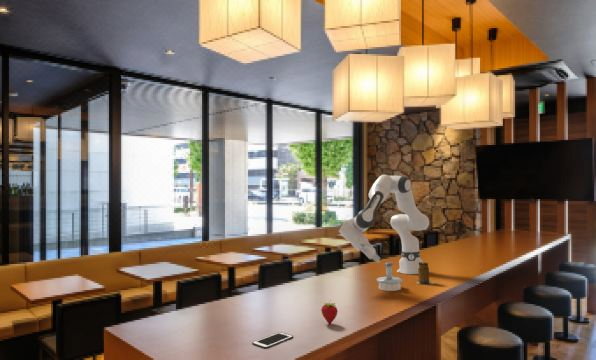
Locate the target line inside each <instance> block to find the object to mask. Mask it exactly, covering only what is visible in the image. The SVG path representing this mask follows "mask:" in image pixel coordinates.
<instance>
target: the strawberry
mask: <svg viewBox="0 0 596 360" xmlns="http://www.w3.org/2000/svg"><path fill="white" fill-rule="evenodd" d="M331 301H332V299H330V300H329V302H326V303H325V302H324V304H323V306H321V309H320V311H321V315H322V316H323V318H324V319H325V321H326V322H327V324H329V325H331V324H333V322H334V321H335V319H336V317H337V315H338V308H337V307H336V303H335V302H334V303H333V302H332V303H331Z"/></svg>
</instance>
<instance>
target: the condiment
mask: <svg viewBox="0 0 596 360" xmlns="http://www.w3.org/2000/svg"><path fill="white" fill-rule="evenodd" d="M417 275H418V282H417V281H416V284H420V285H426V286H427V285H429V286H430V285H434V284H435V282H432V281H430V268H429V263H428V262H426V261H423V262H419V267H418V274H417Z"/></svg>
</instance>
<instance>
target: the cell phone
mask: <svg viewBox="0 0 596 360" xmlns="http://www.w3.org/2000/svg"><path fill="white" fill-rule="evenodd" d="M292 339H294V335H292V334H289V333H285V332H283V331H278V332H275V333H273V334H271V335H267V336H265V337H261V338H259V339H257V340H254V341H252V342H251V345H253V346H255V347H259V348H262V349H264V350H266V349H270V348H272V347H275V346H277V345H279V344H282V343H284V342H286V341H289V340H292Z"/></svg>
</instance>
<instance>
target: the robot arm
mask: <svg viewBox="0 0 596 360" xmlns="http://www.w3.org/2000/svg"><path fill="white" fill-rule="evenodd" d="M390 193H391V194H394V195H395V199H396V200H395V201H396V205H397V208H398V210H399V211H401V212H402V213H399V214H394V215H393V216H392V217H391V218H390V226H391V228H392V229H393V230H395V231H396V232H397V234H398V236H399V238H400V242H401V253H400V254H401V258H400V259H399V261H398V265H399V268H398V269H397V270H396V273H400V274H406V275H418V267H419V262H424V261H423V259H422V258H421V251H420V241H419V238H418V237H417V236H415V235H413V234H412V233H411V231H417V232H421V231H424V230H425V231H426V230H427V229H428V228H429V227H430V219H429V217H428V216H427V215H425V214H424V213H422V212H421V211H420V210H419V208H418V207H417V205H416V202H415V198H414V194H413V189H412V181H411V179H410V178H409V177H407V176H405V175H404V176H402V175H388V174H381V175H380V176H378V178H377V179H376V180H375V181H374V183H372V186H371V187H370V189H369V192H368V198H369V200H368V202H367V204H366V206H365V208H363V209H361V210H360V211H359V212H358V213H357V215H356V216H355V217H353V218H349V219H343V221H342V222H341V224H340V225H339V227H338V232H339V234H340V235H341V236H342V237H343V238H344V239H345V240H346V241H347V242H349V243H350V244H351V246H353V248H354V249H355V250H356V251H357V252H362V253H363V254H364V255H365V256H366V257H367V258H368V259H369V260H373V261H375V262H376V263H377V264H379V263H380V262H381V257H380V256H379V255H378V253H377V252H376V248H375V247H374V246H373V245H372V244H371V243H370V242H369V239H368V238H367V237H366V236H365V235H364V234H363V233H364V232H366V230H368V229H369V228H371V227H372V226H373V225H374V223H375V221H376V213H377V211H378V209H379V207H380V205H381V204H382V203H384V202H385V201H386V199H387V197H388V196H389V194H390Z"/></svg>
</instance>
